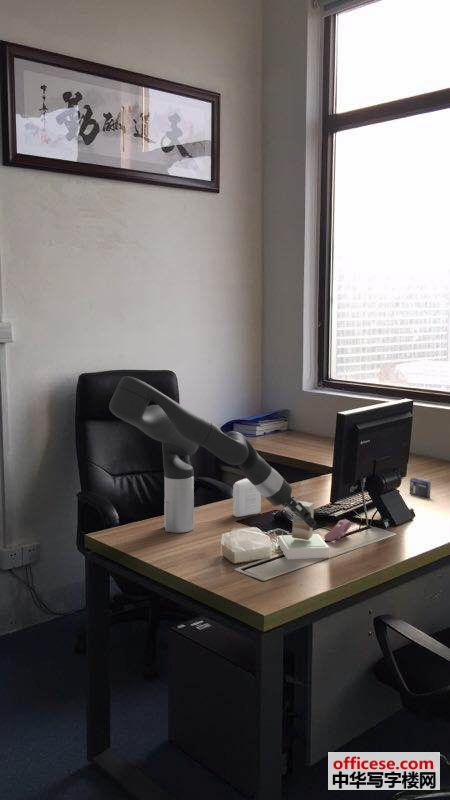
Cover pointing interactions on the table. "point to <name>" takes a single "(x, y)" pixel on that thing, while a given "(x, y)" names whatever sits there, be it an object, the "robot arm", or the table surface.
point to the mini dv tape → (420, 487)
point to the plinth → (303, 547)
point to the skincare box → (302, 524)
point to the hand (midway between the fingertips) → (307, 521)
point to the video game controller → (338, 530)
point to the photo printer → (245, 498)
